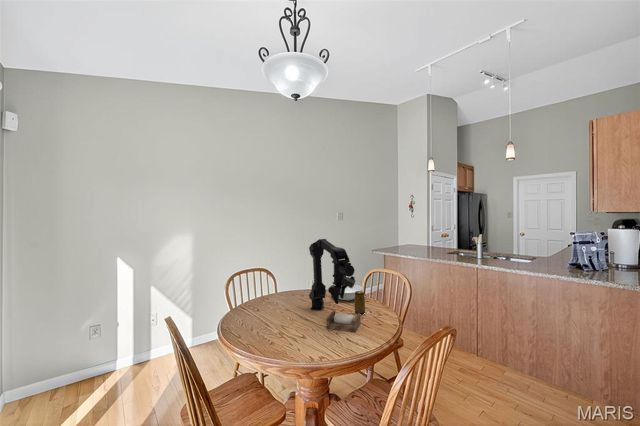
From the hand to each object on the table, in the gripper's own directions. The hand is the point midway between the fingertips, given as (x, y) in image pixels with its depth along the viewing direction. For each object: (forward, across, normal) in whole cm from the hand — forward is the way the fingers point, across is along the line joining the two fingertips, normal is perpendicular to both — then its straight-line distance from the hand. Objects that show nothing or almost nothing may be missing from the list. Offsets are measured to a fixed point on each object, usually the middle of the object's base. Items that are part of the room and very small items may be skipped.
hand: (339, 301), depth 161 cm
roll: (+8, -4, -4) cm, 10 cm away
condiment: (+12, +16, -8) cm, 22 cm away
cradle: (+11, -5, -4) cm, 13 cm away
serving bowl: (+12, +40, +8) cm, 43 cm away
